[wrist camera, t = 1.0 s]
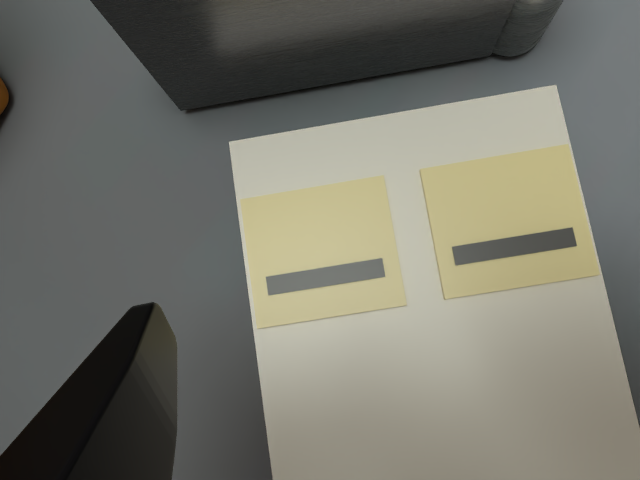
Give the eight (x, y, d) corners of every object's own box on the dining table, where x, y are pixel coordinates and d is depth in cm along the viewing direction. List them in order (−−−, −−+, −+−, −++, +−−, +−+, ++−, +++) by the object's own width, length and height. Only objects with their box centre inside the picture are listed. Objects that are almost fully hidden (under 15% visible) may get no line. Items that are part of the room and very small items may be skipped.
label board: (637, 481, 20) (661, 494, 19) (285, 530, 21) (279, 546, 19) (546, 97, 23) (559, 80, 21) (235, 151, 23) (226, 138, 22)
